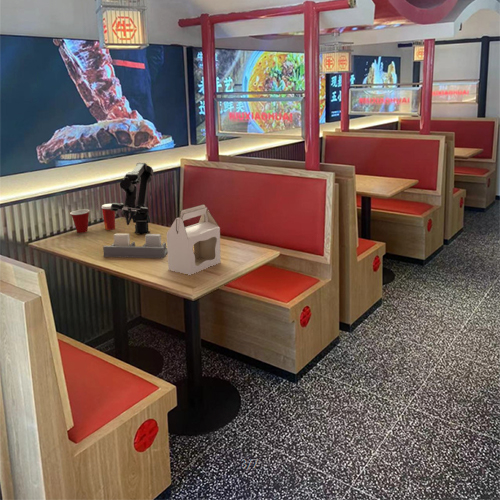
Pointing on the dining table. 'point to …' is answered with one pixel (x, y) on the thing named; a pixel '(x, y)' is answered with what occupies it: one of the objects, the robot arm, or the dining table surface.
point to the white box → (153, 240)
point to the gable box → (193, 242)
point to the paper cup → (108, 217)
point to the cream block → (121, 239)
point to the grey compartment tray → (135, 251)
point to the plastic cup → (80, 220)
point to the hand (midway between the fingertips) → (127, 224)
